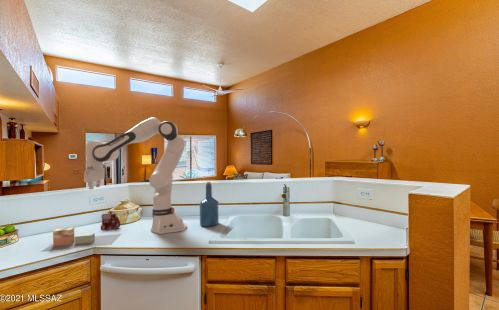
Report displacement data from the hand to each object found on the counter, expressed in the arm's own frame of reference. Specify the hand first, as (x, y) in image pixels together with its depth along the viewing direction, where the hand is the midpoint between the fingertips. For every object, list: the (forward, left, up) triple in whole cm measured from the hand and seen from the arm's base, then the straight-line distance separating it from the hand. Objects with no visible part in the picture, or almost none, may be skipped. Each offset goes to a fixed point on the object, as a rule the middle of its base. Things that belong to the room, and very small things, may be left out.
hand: (94, 188), depth 139 cm
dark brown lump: (-6, -8, -29) cm, 31 cm away
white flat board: (-1, +16, -29) cm, 33 cm away
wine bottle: (-71, 0, -29) cm, 77 cm away
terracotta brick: (+9, +16, -28) cm, 33 cm away
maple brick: (+9, +16, -24) cm, 30 cm away
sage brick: (-1, +16, -28) cm, 32 cm away
